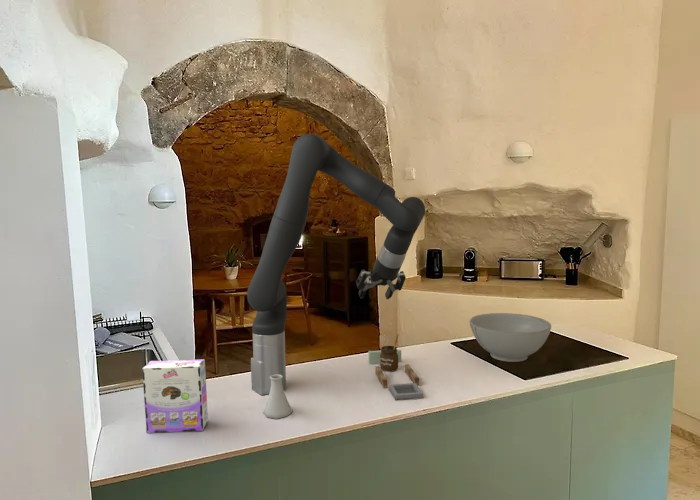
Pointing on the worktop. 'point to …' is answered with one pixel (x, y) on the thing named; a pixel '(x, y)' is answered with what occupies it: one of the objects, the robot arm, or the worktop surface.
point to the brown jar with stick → (389, 357)
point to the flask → (277, 400)
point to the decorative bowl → (510, 334)
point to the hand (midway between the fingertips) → (373, 297)
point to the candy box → (175, 396)
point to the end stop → (375, 356)
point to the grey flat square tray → (405, 391)
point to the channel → (408, 371)
